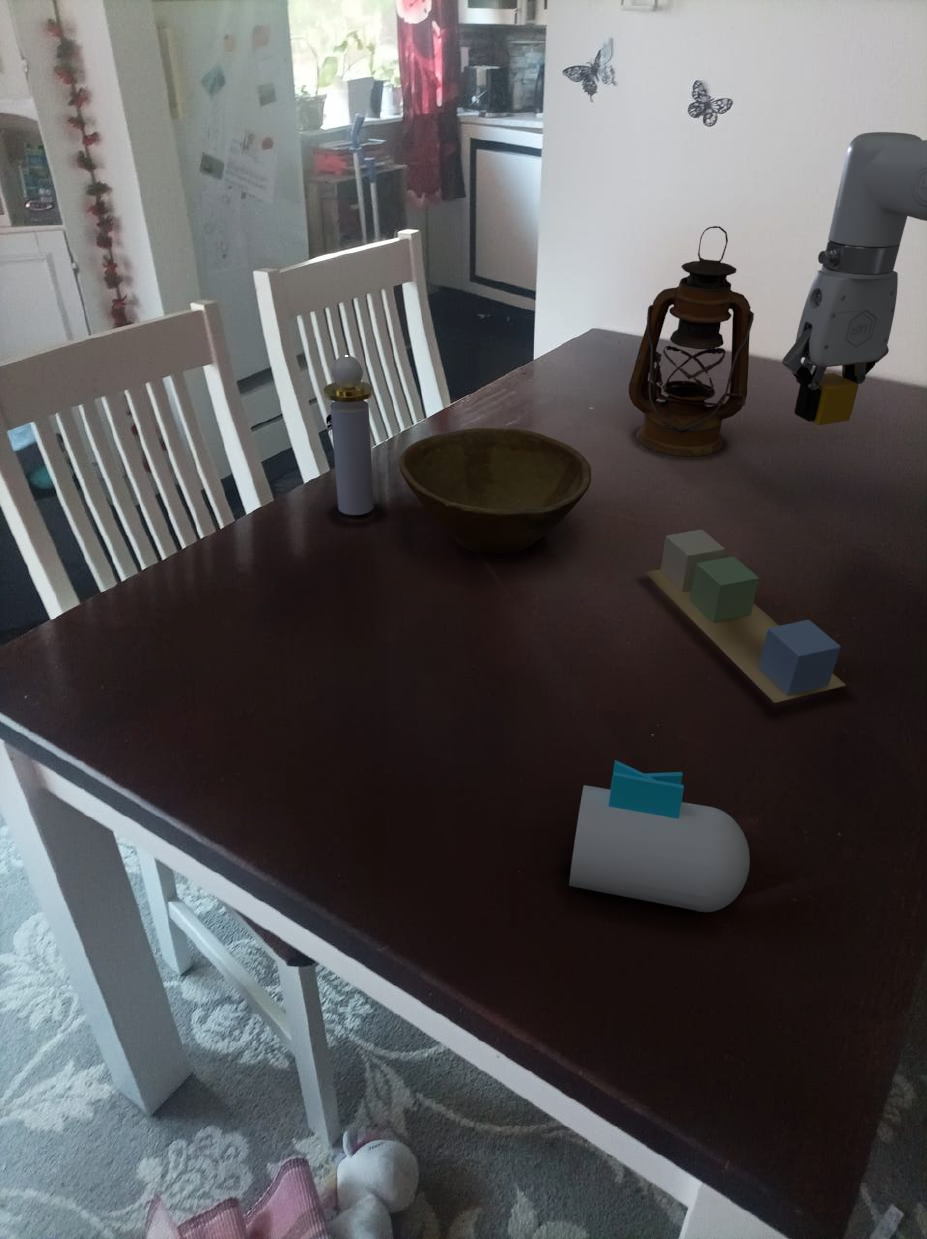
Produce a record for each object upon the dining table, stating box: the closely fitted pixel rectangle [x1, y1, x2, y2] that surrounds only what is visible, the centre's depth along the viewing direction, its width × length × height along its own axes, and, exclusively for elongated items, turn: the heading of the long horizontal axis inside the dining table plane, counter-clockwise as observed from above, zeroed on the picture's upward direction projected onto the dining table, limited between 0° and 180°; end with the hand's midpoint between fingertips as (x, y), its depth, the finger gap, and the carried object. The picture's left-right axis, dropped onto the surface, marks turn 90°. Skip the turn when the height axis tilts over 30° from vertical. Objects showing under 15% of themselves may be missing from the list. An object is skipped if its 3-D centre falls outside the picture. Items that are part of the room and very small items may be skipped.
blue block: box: [758, 619, 842, 696], centre depth 81 cm, size 5×5×5 cm
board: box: [644, 568, 847, 704], centre depth 90 cm, size 8×24×1 cm, turn 19°
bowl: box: [398, 427, 592, 555], centre depth 103 cm, size 22×23×10 cm
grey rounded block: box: [568, 759, 751, 913], centre depth 64 cm, size 12×9×12 cm
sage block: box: [690, 556, 760, 623], centre depth 91 cm, size 5×5×5 cm
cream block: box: [660, 529, 726, 592], centre depth 95 cm, size 5×5×5 cm
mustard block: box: [811, 372, 859, 426], centre depth 106 cm, size 5×5×5 cm
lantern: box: [628, 225, 755, 458], centre depth 123 cm, size 17×13×30 cm
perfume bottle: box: [323, 355, 375, 516], centre depth 105 cm, size 6×6×20 cm
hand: (822, 413), depth 107 cm, fingers closed on mustard block, 4 cm apart
